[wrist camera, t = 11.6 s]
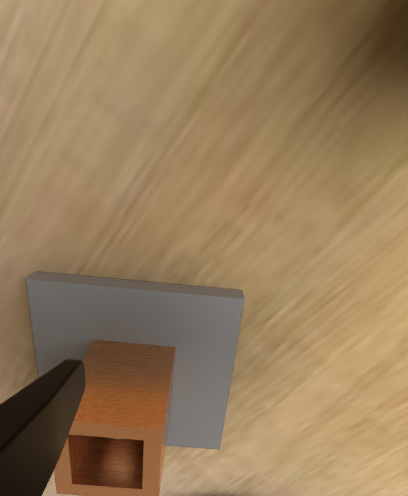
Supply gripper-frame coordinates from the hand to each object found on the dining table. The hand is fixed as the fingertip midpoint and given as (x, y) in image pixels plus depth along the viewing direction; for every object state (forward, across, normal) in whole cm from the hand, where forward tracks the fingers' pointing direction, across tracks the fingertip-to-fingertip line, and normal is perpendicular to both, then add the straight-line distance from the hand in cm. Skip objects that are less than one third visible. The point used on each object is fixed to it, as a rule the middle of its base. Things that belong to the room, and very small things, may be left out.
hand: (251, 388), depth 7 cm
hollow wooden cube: (+10, +6, +10) cm, 15 cm away
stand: (+11, +6, +10) cm, 16 cm away
